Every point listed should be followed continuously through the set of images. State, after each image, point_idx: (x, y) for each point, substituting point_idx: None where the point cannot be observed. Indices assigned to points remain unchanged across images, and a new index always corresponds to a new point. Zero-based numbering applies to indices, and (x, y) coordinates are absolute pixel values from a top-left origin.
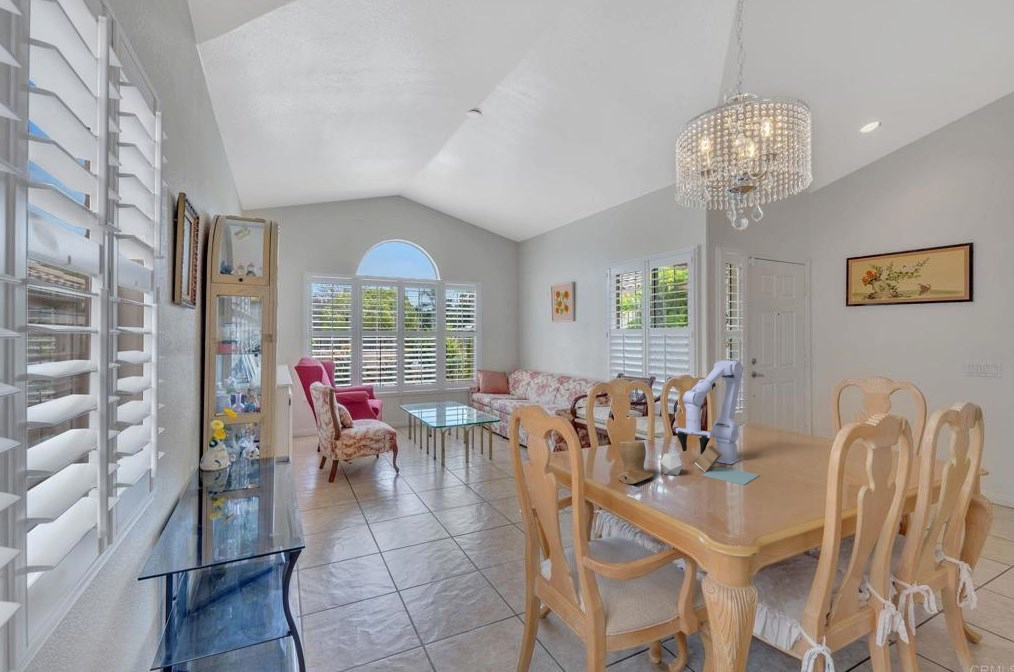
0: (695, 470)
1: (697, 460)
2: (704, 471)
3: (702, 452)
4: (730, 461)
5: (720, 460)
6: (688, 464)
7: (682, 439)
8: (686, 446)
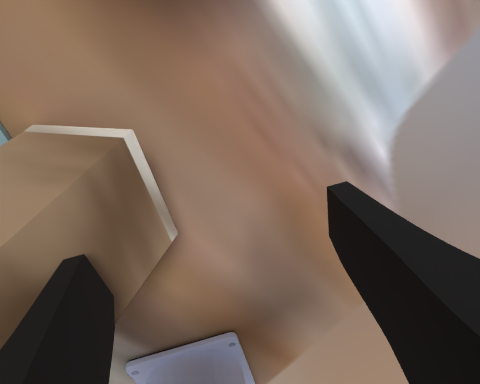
0: (124, 92)
1: (96, 160)
2: (35, 125)
3: (47, 289)
4: (147, 381)
5: (189, 357)
6: (288, 179)
7: (472, 329)
8: (355, 280)
